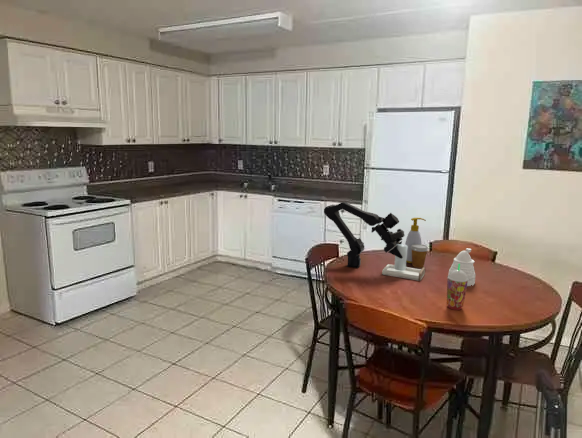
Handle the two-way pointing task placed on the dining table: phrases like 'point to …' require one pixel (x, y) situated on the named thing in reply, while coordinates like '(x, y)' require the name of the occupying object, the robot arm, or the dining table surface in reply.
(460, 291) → the smoothie
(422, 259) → the disposable coffee cup
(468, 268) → the honey pot
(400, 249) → the white rounded wedge
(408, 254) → the soap bottle
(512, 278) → the dining table surface
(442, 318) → the dining table surface
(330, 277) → the dining table surface
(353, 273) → the dining table surface
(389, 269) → the drawer
